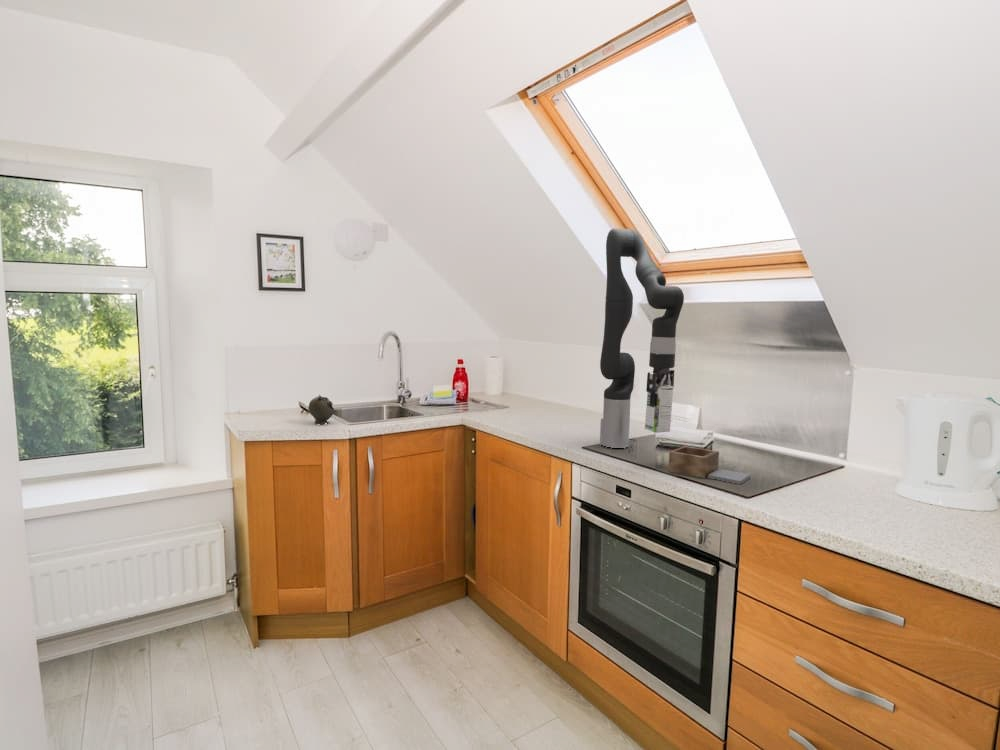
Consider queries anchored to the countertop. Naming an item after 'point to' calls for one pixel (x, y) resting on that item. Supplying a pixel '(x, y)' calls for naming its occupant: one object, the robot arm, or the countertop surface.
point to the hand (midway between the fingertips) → (659, 404)
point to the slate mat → (729, 476)
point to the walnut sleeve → (693, 461)
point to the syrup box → (660, 411)
